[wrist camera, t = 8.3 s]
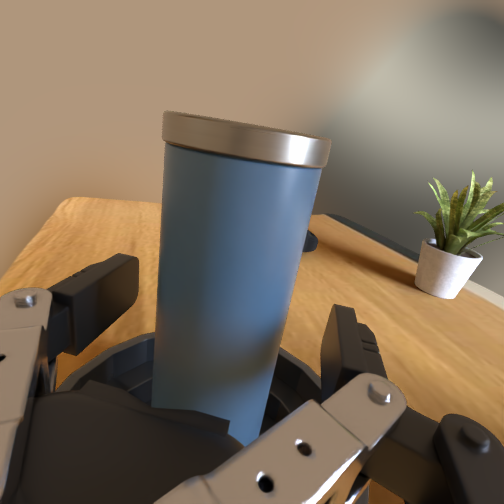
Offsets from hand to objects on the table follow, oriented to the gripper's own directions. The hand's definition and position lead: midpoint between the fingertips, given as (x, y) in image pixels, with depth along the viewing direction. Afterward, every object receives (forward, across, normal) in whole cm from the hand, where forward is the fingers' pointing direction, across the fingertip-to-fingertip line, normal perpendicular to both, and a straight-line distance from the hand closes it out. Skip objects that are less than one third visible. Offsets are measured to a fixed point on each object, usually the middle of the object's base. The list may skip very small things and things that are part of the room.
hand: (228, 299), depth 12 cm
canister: (-1, 0, +10) cm, 10 cm away
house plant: (+31, -23, +10) cm, 40 cm away
